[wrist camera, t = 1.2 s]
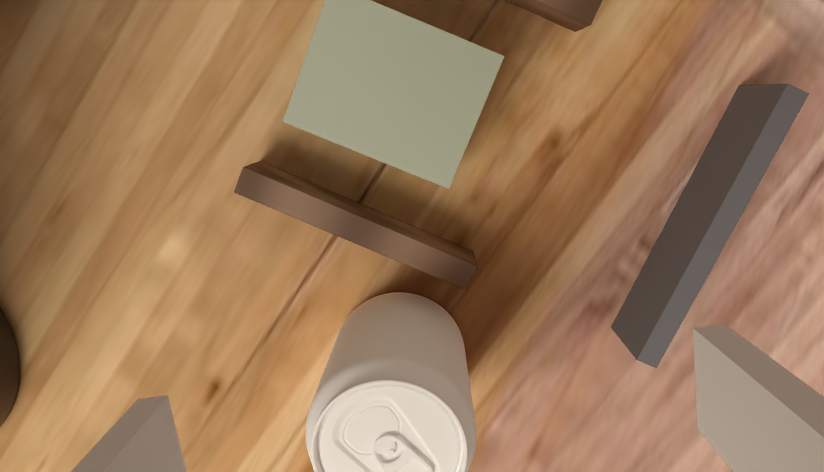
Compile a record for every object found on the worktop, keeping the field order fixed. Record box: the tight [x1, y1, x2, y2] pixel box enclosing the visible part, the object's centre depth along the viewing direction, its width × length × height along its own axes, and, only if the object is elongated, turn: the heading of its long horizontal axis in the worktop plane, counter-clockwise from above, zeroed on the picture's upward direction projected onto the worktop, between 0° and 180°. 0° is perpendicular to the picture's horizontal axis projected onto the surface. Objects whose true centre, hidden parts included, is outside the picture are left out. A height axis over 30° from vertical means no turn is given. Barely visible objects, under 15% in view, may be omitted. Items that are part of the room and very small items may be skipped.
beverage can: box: [306, 292, 476, 472], centre depth 34 cm, size 8×8×12 cm
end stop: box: [611, 84, 809, 368], centre depth 35 cm, size 1×16×5 cm, turn 157°
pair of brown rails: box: [234, 0, 602, 290], centre depth 35 cm, size 14×17×4 cm
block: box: [283, 0, 504, 189], centre depth 34 cm, size 9×7×6 cm
